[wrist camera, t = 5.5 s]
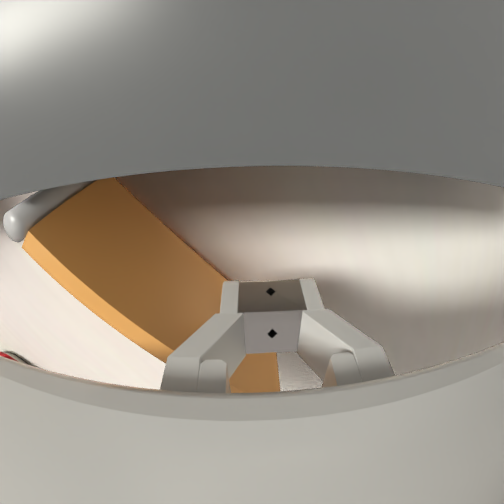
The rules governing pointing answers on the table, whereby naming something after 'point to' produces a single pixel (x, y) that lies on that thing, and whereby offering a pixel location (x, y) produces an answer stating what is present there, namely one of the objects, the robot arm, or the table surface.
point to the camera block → (249, 87)
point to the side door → (128, 269)
